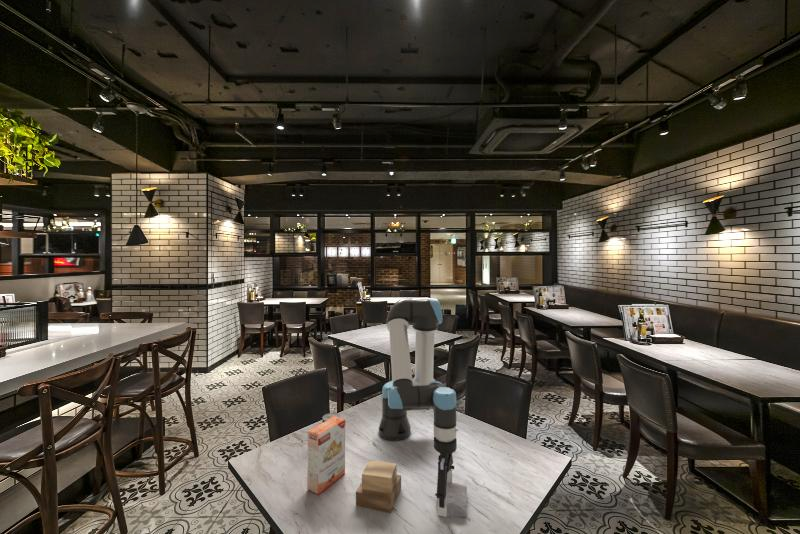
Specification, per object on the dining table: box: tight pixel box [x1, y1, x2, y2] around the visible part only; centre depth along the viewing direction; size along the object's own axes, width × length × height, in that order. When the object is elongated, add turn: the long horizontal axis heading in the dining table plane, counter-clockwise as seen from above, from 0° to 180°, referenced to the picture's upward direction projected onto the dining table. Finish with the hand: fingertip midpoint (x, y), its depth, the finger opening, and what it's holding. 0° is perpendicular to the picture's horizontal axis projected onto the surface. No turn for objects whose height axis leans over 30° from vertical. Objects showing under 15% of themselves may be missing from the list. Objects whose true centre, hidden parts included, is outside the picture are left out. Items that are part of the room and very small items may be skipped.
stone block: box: [436, 482, 468, 518], centre depth 108 cm, size 12×5×10 cm
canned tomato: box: [321, 412, 341, 423], centre depth 146 cm, size 8×8×11 cm
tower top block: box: [361, 460, 398, 493], centre depth 111 cm, size 8×10×5 cm
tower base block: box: [355, 474, 402, 514], centre depth 111 cm, size 12×12×5 cm
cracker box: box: [306, 416, 346, 495], centre depth 119 cm, size 14×6×21 cm, turn 148°
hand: (445, 501), depth 108 cm, fingers open, 12 cm apart
